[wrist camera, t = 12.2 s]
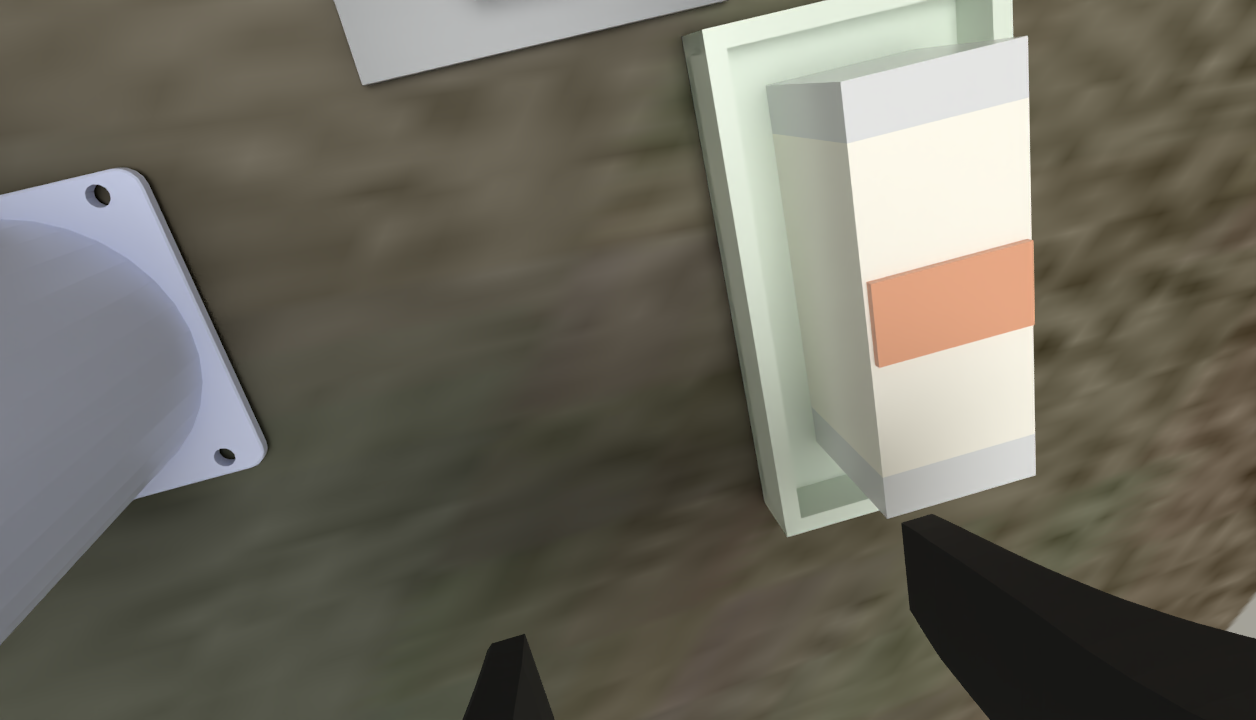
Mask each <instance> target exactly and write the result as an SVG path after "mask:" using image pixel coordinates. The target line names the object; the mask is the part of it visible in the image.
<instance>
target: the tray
mask: <svg viewBox="0 0 1256 720" xmlns="http://www.w3.org/2000/svg"><path fill="white" fill-rule="evenodd" d="M1012 37H1013V10H1012V0H826V1H822V2H817V3H813V4H809V5H805V6H800V7H796V8H792V9H788V10H783V11H779V12H775V13H771V14H767V15H762V16H758V17H754V18H750V19H745V20H741V21H737V22H733V23H729V24H724V25H720V26H716V27H712V28H707V29H703V30H700V31H697V32H694V33H691V34H688V35H685V36H682V42H683V47H684V53H685V59H686V64H687V70H688V75H689V81H690V87H691V92H692V98H693V104H694V109H695V115H696V120H697V126H698V132H699V137H700V143H701V148H702V154H703V160H704V165H705V171H706V177H707V182H708V188H709V193H710V199H711V205H712V210H713V216H714V221H715V227H716V233H717V238H718V244H719V250H720V255H721V261H722V266H723V272H724V278H725V283H726V289H727V295H728V300H729V306H730V311H731V317H732V323H733V328H734V334H735V339H736V345H737V351H738V356H739V362H740V368H741V373H742V379H743V384H744V390H745V396H746V401H747V407H748V412H749V418H750V424H751V429H752V435H753V441H754V446H755V452H756V457H757V463H758V469H759V474H760V480H761V485H762V491H763V497H764V502H765V504H766V505H767V507H768V508H769V510H770V511H771V513H772V515H773V516H774V518H775V519H776V521H777V522H778V524H779V525H780V527H781V528H782V530H783V531H784V533H785V535H786V536H787V537H790V536H793V535H797V534H800V533H804V532H807V531H810V530H814V529H817V528H821V527H824V526H827V525H831V524H834V523H838V522H841V521H845V520H848V519H851V518H855V517H858V516H862V515H865V514H868V513H872V512H875V511H879V509H878V508H877V507H876V506H875V505H874V504H873V503H872V502H871V500H870V499H869V498H868V497H867V496H866V495H865V494H864V493H863V492H862V491H861V490H860V488H859V487H858V486H857V485H856V484H855V483H854V482H853V481H852V480H851V479H850V478H849V476H848V475H847V474H846V473H845V472H844V471H843V470H842V469H841V468H840V467H839V466H838V464H837V463H836V462H835V461H834V460H833V459H832V458H831V457H830V456H829V455H828V454H827V452H826V451H825V450H824V449H823V448H822V447H821V446H820V445H819V444H818V443H817V442H816V435H815V428H814V421H813V414H812V407H811V400H810V393H809V386H808V379H807V372H806V365H805V358H804V351H803V344H802V337H801V330H800V323H799V316H798V309H797V302H796V295H795V288H794V281H793V274H792V267H791V260H790V253H789V246H788V239H787V232H786V225H785V218H784V211H783V204H782V197H781V190H780V183H779V176H778V169H777V162H776V155H775V148H774V141H773V134H772V127H771V120H770V113H769V106H768V99H767V92H766V85H769V84H773V83H777V82H781V81H785V80H789V79H794V78H798V77H802V76H806V75H810V74H814V73H818V72H822V71H826V70H830V69H834V68H838V67H843V66H847V65H851V64H855V63H859V62H863V61H867V60H871V59H875V58H879V57H883V56H887V55H892V54H896V53H900V52H904V51H908V50H912V49H919V48H927V47H936V46H944V45H953V44H961V43H970V42H978V41H987V40H995V39H1004V38H1012Z"/></svg>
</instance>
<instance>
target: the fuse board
mask: <svg viewBox="0 0 1256 720" xmlns="http://www.w3.org/2000/svg"><path fill="white" fill-rule="evenodd" d="M334 1H335V4H336V7H337V10H338V13H339V16H340V19H341V22H342V25H343V28H344V31H345V34H346V37H347V40H348V43H349V46H350V49H351V52H352V55H353V58H354V61H355V64H356V67H357V70H358V73H359V76H360V79H361V82H362V85H365V86H368V85H372V84H376V83H381V82H385V81H389V80H393V79H398V78H402V77H406V76H410V75H415V74H419V73H423V72H427V71H432V70H436V69H440V68H445V67H449V66H453V65H457V64H462V63H466V62H470V61H474V60H479V59H483V58H487V57H491V56H496V55H500V54H504V53H509V52H513V51H517V50H521V49H526V48H530V47H534V46H538V45H543V44H547V43H551V42H556V41H560V40H564V39H568V38H573V37H577V36H581V35H585V34H590V33H594V32H598V31H602V30H607V29H611V28H615V27H620V26H624V25H628V24H632V23H637V22H641V21H645V20H649V19H654V18H658V17H662V16H666V15H671V14H675V13H679V12H684V11H688V10H692V9H696V8H701V7H705V6H709V5H713V4H718V3H722V2H726V1H728V0H334Z"/></svg>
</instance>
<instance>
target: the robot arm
mask: <svg viewBox="0 0 1256 720" xmlns="http://www.w3.org/2000/svg"><path fill="white" fill-rule="evenodd" d="M96 185H101V186H103V187H105V188H106V189H107V190H108V192H109V193H110V197H111V201H110V203H109V205H104V204H102V203H100V202H99V201H98V200H97V199H96V197H95V194H94V189H95V187H96ZM222 448H226V449H229V450H231V451H232V452H233V453H234V454H235V459H226V458H224V457H223V456H222V455H221V454H220V451H219V449H222ZM267 449H268V447H267V442H266V440H265V437H264V435H263V433H262V431H261V429H260V427H259V424H258V422H257V420H256V418H255V416H254V413H253V411H252V409H251V407H250V405H249V402H248V400H247V398H246V396H245V394H244V392H243V389H242V387H241V385H240V383H239V381H238V378H237V376H236V374H235V372H234V370H233V367H232V365H231V363H230V361H229V359H228V356H227V354H226V352H225V350H224V348H223V346H222V343H221V341H220V339H219V337H218V335H217V332H216V330H215V328H214V326H213V324H212V321H211V319H210V317H209V315H208V313H207V311H206V308H205V306H204V304H203V302H202V300H201V297H200V295H199V293H198V291H197V289H196V286H195V284H194V282H193V280H192V278H191V275H190V273H189V271H188V269H187V267H186V265H185V262H184V260H183V258H182V256H181V254H180V251H179V249H178V247H177V245H176V243H175V240H174V238H173V236H172V234H171V232H170V230H169V227H168V225H167V223H166V221H165V219H164V216H163V214H162V212H161V210H160V208H159V205H158V203H157V201H156V199H155V197H154V194H153V192H152V190H151V188H150V186H149V184H148V182H147V181H146V179H145V178H144V176H142V175H141V174H140V173H138V172H137V171H136V170H133V169H130V168H126V167H125V168H113V169H108V170H104V171H100V172H96V173H91V174H87V175H83V176H79V177H75V178H70V179H66V180H62V181H58V182H53V183H49V184H45V185H41V186H37V187H32V188H28V189H24V190H20V191H15V192H11V193H7V194H3V195H0V645H1V644H2V643H3V641H4V640H5V639H6V638H7V637H8V636H9V635H10V634H11V633H12V632H13V631H14V629H15V628H16V627H17V626H18V625H19V624H20V623H21V622H22V621H23V620H24V619H25V617H26V616H27V615H28V614H29V613H30V612H31V611H32V610H33V609H34V608H35V607H36V605H37V604H38V603H39V602H40V601H41V600H42V599H43V598H44V597H45V596H46V594H47V593H48V592H49V591H50V590H51V589H52V588H53V587H54V586H55V585H56V584H57V582H58V581H59V580H60V579H61V578H62V577H63V576H64V575H65V574H66V573H67V572H68V570H69V569H70V568H71V567H72V566H73V565H74V564H75V563H76V562H77V561H78V560H79V558H80V557H81V556H82V555H83V554H84V553H85V552H86V551H87V550H88V549H89V548H90V546H91V545H92V544H93V543H94V542H95V541H96V540H97V539H98V538H99V537H100V536H101V534H102V533H103V532H104V531H105V530H106V529H107V528H108V527H109V526H110V525H111V524H112V522H113V521H114V520H115V519H116V518H117V517H118V516H119V515H120V514H121V513H122V512H123V510H124V509H125V508H126V507H127V506H128V505H129V504H130V503H131V502H132V501H133V500H134V499H137V498H141V497H144V496H148V495H152V494H155V493H159V492H163V491H166V490H170V489H174V488H178V487H181V486H185V485H189V484H192V483H196V482H200V481H204V480H207V479H211V478H215V477H218V476H222V475H226V474H229V473H233V472H237V471H241V470H244V469H248V468H252V467H254V466H256V465H258V464H259V463H260V462H261V461H262V460H263V458H264V457H265V455H266V453H267ZM901 524H902V534H903V544H904V554H905V564H906V575H907V585H908V595H909V605H910V610H911V612H912V614H913V615H914V617H915V619H916V620H917V622H918V624H919V625H920V627H921V629H922V630H923V632H924V633H925V635H926V637H927V638H928V640H929V641H930V643H931V644H932V646H933V648H934V649H935V651H936V652H937V654H938V655H939V657H940V658H941V660H942V661H943V662H944V663H945V665H946V666H947V667H948V668H949V670H950V671H951V672H952V673H953V675H954V676H955V677H956V678H957V680H958V681H959V682H960V683H961V685H962V686H963V687H964V688H965V690H966V691H967V692H968V693H969V695H970V696H971V697H972V698H973V700H974V701H975V702H976V703H977V704H978V706H979V707H980V708H981V709H982V711H983V712H984V713H985V714H986V715H987V717H988V718H989V719H990V720H1256V639H1255V638H1251V637H1247V636H1243V635H1239V634H1235V633H1232V632H1228V631H1224V630H1221V629H1217V628H1213V627H1209V626H1206V625H1202V624H1198V623H1195V622H1192V621H1188V620H1185V619H1182V618H1178V617H1175V616H1172V615H1169V614H1166V613H1163V612H1160V611H1157V610H1154V609H1151V608H1148V607H1145V606H1142V605H1139V604H1136V603H1133V602H1130V601H1127V600H1124V599H1121V598H1119V597H1116V596H1113V595H1111V594H1108V593H1105V592H1103V591H1100V590H1098V589H1095V588H1093V587H1090V586H1088V585H1085V584H1083V583H1080V582H1078V581H1076V580H1073V579H1071V578H1068V577H1066V576H1063V575H1061V574H1059V573H1057V572H1054V571H1052V570H1050V569H1047V568H1045V567H1043V566H1041V565H1038V564H1036V563H1034V562H1032V561H1030V560H1027V559H1025V558H1023V557H1021V556H1019V555H1017V554H1015V553H1012V552H1010V551H1008V550H1006V549H1004V548H1002V547H1000V546H998V545H996V544H994V543H992V542H990V541H988V540H985V539H983V538H981V537H979V536H977V535H975V534H973V533H971V532H969V531H967V530H965V529H963V528H961V527H959V526H957V525H955V524H953V523H951V522H949V521H946V520H944V519H942V518H940V517H938V516H936V515H933V514H930V515H927V516H923V517H920V518H917V519H913V520H910V521H906V522H903V523H901ZM463 720H554V716H553V714H552V711H551V708H550V705H549V702H548V699H547V696H546V693H545V690H544V688H543V685H542V682H541V679H540V676H539V673H538V670H537V667H536V665H535V662H534V659H533V656H532V653H531V650H530V647H529V644H528V642H527V639H526V636H525V634H523V635H519V636H516V637H513V638H509V639H506V640H502V641H499V642H496V643H492V644H491V646H490V647H489V649H488V650H487V653H486V656H485V660H484V663H483V666H482V669H481V672H480V675H479V677H478V680H477V683H476V686H475V689H474V691H473V694H472V697H471V699H470V702H469V705H468V707H467V710H466V712H465V715H464V717H463Z"/></svg>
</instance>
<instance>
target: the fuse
mask: <svg viewBox="0 0 1256 720" xmlns="http://www.w3.org/2000/svg"><path fill="white" fill-rule="evenodd" d="M766 92H767V99H768V106H769V113H770V120H771V127H772V134H773V141H774V148H775V155H776V162H777V169H778V176H779V183H780V190H781V197H782V204H783V211H784V218H785V225H786V232H787V239H788V246H789V253H790V260H791V267H792V274H793V281H794V288H795V295H796V302H797V309H798V316H799V323H800V330H801V337H802V344H803V351H804V358H805V365H806V372H807V379H808V386H809V393H810V400H811V407H812V414H813V421H814V428H815V435H816V442H817V443H818V444H819V445H820V446H821V447H822V448H823V449H824V450H825V451H826V452H827V454H828V455H829V456H830V457H831V458H832V459H833V460H834V461H835V462H836V463H837V464H838V466H839V467H840V468H841V469H842V470H843V471H844V472H845V473H846V474H847V475H848V476H849V478H850V479H851V480H852V481H853V482H854V483H855V484H856V485H857V486H858V487H859V488H860V490H861V491H862V492H863V493H864V494H865V495H866V496H867V497H868V498H869V499H870V500H871V502H872V503H873V504H874V505H875V506H876V507H877V508H878V509H879V510H880V511H881V512H882V514H883V515H884V516H885V517H886V518H887V519H888V518H892V517H895V516H899V515H902V514H905V513H909V512H912V511H916V510H919V509H922V508H926V507H929V506H933V505H936V504H939V503H943V502H946V501H950V500H953V499H956V498H960V497H963V496H966V495H970V494H973V493H977V492H980V491H983V490H987V489H990V488H994V487H997V486H1000V485H1004V484H1007V483H1011V482H1014V481H1017V480H1021V479H1024V478H1028V477H1031V476H1034V475H1036V463H1035V407H1034V351H1033V325H1035V305H1034V246H1033V240H1032V239H1031V183H1030V127H1029V71H1028V36H1020V37H1012V38H1004V39H995V40H987V41H978V42H970V43H961V44H953V45H944V46H936V47H927V48H919V49H912V50H908V51H904V52H900V53H896V54H892V55H887V56H883V57H879V58H875V59H871V60H867V61H863V62H859V63H855V64H851V65H847V66H843V67H838V68H834V69H830V70H826V71H822V72H818V73H814V74H810V75H806V76H802V77H798V78H794V79H789V80H785V81H781V82H777V83H773V84H769V85H766Z"/></svg>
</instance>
